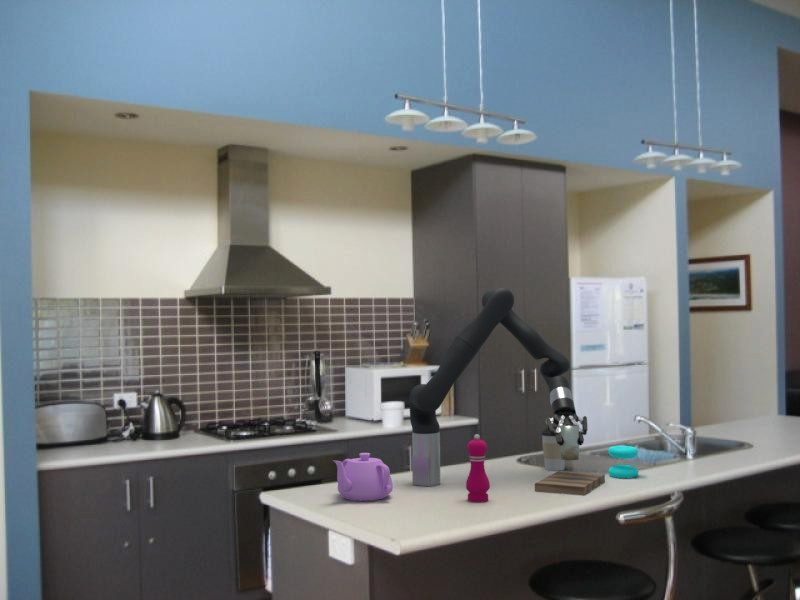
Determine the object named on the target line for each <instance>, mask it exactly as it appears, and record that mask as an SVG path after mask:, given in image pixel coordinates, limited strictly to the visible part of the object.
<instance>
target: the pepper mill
mask: <svg viewBox="0 0 800 600" xmlns="http://www.w3.org/2000/svg"><path fill="white" fill-rule="evenodd" d="M467 443H468V444H467V447H466V449H467V452H468V453H469V456H468V457H469V459H468V460H469V461H470V470H469V474H468V476H467V477H466V480H465V481H466V482H465V488H466V490H467V491H468V494H467V501H468V502H471V503H485V502H489V494H488V491H489V490H490V488H491V487H490V485H491V484H490V480H489V477H488V476H487V472H486V470H485V461H486V460H487V459H486V452H487V451H488V446H487V443H486V442H485V441H484V439H483V440H482V439H481V436H480V434H477V433H476V434H474V436H473V439H472V440H470V441H469V442H467Z"/></svg>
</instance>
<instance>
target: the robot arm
mask: <svg viewBox="0 0 800 600" xmlns="http://www.w3.org/2000/svg"><path fill="white" fill-rule="evenodd" d="M514 304H515V296H514V294H513V292H512V291H511V290H510V289H508V288H505V287H498V288H492V289H489V290H486V291H485V292H484V294H483V295H482V297H481V305H482V307H483V308H482V309H481V311H480V312H479V314H478V315H477V316H476V317H475V318H474V319H473V320H472V321H470V322H469V323H468V324H467V325H466V326H465V327H464V328H462V329H461V330H460V331H459V332H458V333H457V334H456V335H455V337H454V338H453V340H452V341H451V342H450V344H449V345H448V347H447V348H446V349H445V351H444V353H443V356H442V359H441V362H440V365H439V367H438V368H437V371H436V372H435V373H434V375H432V377H431V378H430V379H429V380H428V382H426V383H424V384H423V383H421V384H417V385H415V386H414V387H412V390H411V391H410V394H409V401H408V402H409V420H410V425H411V431H412V432H411V434H412V439H411V440H412V457H411V465H412V467H411V468H412V470H411V472H412V475H411V476H412V481H411V482H412V486H420V487H432V486H438V485H440V484H441V444H440V443H441V435H440V434H441V433H440V430H441V429H440V423H439V421H438V419H437V414H436V413H437V412H436V411H437V410H438V409H439V408H440V407H441V405H442V404H443V402H444V401H445V399H446V398H447V395H448V394H449V392H450V390H451V389H452V387H453V385H454V384H455V383H456V381H457V380H458V379H459V377H460V376H461V375H462V373H463V372H464V371H466V368H467V367H468V366H469V365H470V363H472V361H473V360H474V358H475V357H476V356H477V354H478V353H479V351H480V350H481V348H482V346H483V345H484V344H485V343H486V341H487V339H488V338H489V337H490V336H491V335H492V332H493V331H494V330H495V328H496V327H497V326H498V325H499V324H500V325H501V326H503V327H504V328H505V329H506V330H507V331H508V332H509V333H511V335H513V337H514V338H515V339H516V340H517V341H518V342H519V344H520V345H521V346H522V347H523V348H524V349H525V350H526V352H527V353H528V354H529V355H530V357H532V358H533V359H534V360H535V361H536V360H537V361H539V360H542V359H547V360H546V361H544V362H542V363H541V364H540V366H539V373H540V375H541V376H542V378H543V379H544V381H545V383H546V385H547V388H548V391H549V395H550V397H549V400H550V406H551V411H552V416H553V417H549V416H547V417H545V422H544V424H545V428H547V429H548V432H549V435H551V436H552V435H554V436H555V437H556V441H557V444H559V446H562V438H561V434H560V425H562V424H577V425H579V446H582V445H583V444H584V441H585V439H584V436H587V434H588V433H587V432H588V430H589V429H588V417H587V416H585V415H584V416H583V417H581V416H578V415H577V411H576V408H575V402H574V397H573V394H572V393H571V388H570V384H569V380H568V378H567V377H566V376H563V375H564V374H566V373H568V371H569V370H570V368H571V365H570V361H569V359H568V358H567V356H566V355H564V354H563V353H561V352H559V351H558V350H557V349H555V348H553V347H552V346H551V345H550V344H548V343H547V341H545V339H544V338H543V337H542V336H541V335H540V334H539V333H538V332H537V331H536V329H535V328H533V327H532V326H531V325H529V324H528V323H527V322H525V321H524V320H523V319H522V318H521V317H520V316H519V315H517V314H516V313H515V311H514V310H513V307H514ZM578 422H579V423H580V424H579V423H578ZM553 423H554V424H555V425H556V427H557V429H556V430H554V428H553V427H554V426H553ZM580 425H581V427H580Z"/></svg>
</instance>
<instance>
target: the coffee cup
mask: <svg viewBox="0 0 800 600" xmlns="http://www.w3.org/2000/svg"><path fill="white" fill-rule="evenodd" d="M557 427H558V426H553V428H554V430H556V429H557ZM541 439H542V452H543V454H542V455H543V459H544V460H543V462H544V469H545V470H546V471H552V472H553V471H554V472H558V471H564V470H565V467H566V466H565V464H566V463H565V462H566V460H562V459H561V446H559V444H557V441H556V437H555V436H554V435H552V436H551V435H549V432H548V429H547V427H545V428H544V430H543V431H541Z"/></svg>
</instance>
